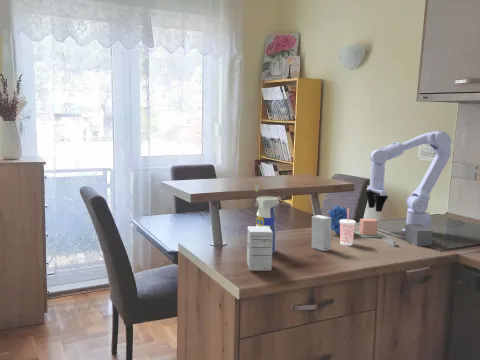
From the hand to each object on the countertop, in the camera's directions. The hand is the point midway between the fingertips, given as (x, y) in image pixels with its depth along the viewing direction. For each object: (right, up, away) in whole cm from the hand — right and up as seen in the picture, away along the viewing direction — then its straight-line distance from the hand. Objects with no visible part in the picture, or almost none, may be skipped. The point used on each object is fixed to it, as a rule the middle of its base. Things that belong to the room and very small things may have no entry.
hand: (375, 209), depth 194 cm
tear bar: (0, -12, -17) cm, 20 cm away
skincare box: (-28, -13, -27) cm, 41 cm away
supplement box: (-52, -16, -49) cm, 73 cm away
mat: (-4, -10, -5) cm, 12 cm away
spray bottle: (-49, -13, -31) cm, 59 cm away
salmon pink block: (-5, -10, -5) cm, 12 cm away
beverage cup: (-17, -12, -20) cm, 29 cm away
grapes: (-17, -10, -6) cm, 20 cm away
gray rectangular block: (+12, -12, -15) cm, 23 cm away
